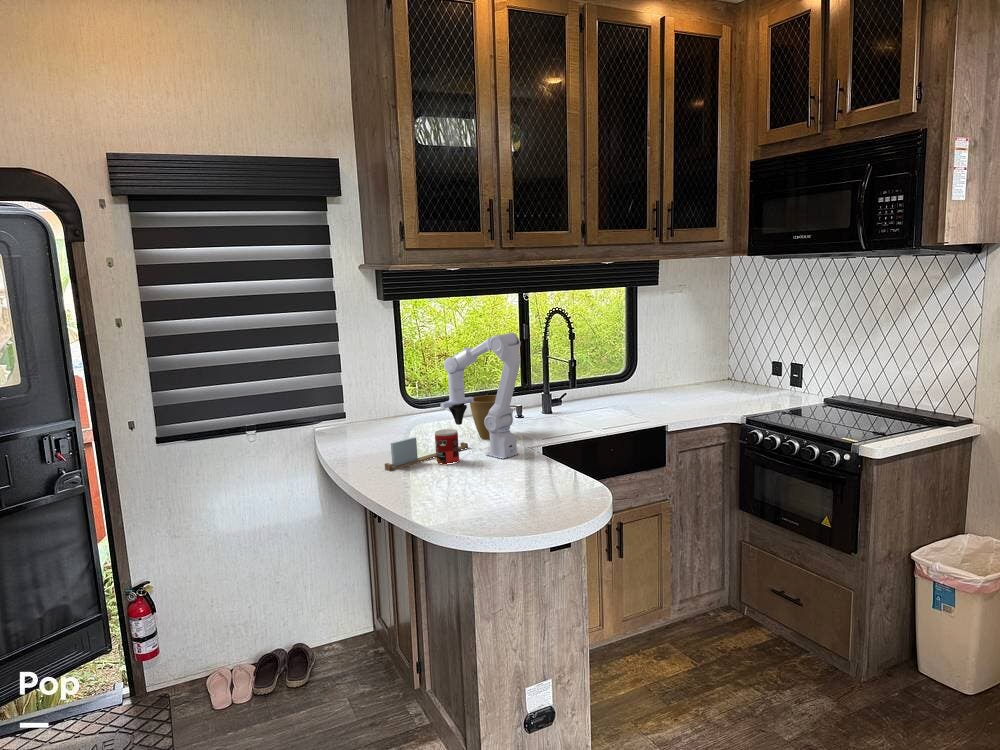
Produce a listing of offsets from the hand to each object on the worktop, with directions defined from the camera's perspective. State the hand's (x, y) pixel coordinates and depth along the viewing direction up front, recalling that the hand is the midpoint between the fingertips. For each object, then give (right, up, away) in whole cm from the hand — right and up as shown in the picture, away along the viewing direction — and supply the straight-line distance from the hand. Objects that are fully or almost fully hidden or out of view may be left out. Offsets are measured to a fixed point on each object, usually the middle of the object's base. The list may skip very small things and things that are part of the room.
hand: (458, 424), depth 259 cm
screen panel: (-18, -13, -17) cm, 28 cm away
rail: (-10, -12, -10) cm, 19 cm away
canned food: (-3, -12, -16) cm, 20 cm away
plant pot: (+12, -7, +16) cm, 21 cm away
